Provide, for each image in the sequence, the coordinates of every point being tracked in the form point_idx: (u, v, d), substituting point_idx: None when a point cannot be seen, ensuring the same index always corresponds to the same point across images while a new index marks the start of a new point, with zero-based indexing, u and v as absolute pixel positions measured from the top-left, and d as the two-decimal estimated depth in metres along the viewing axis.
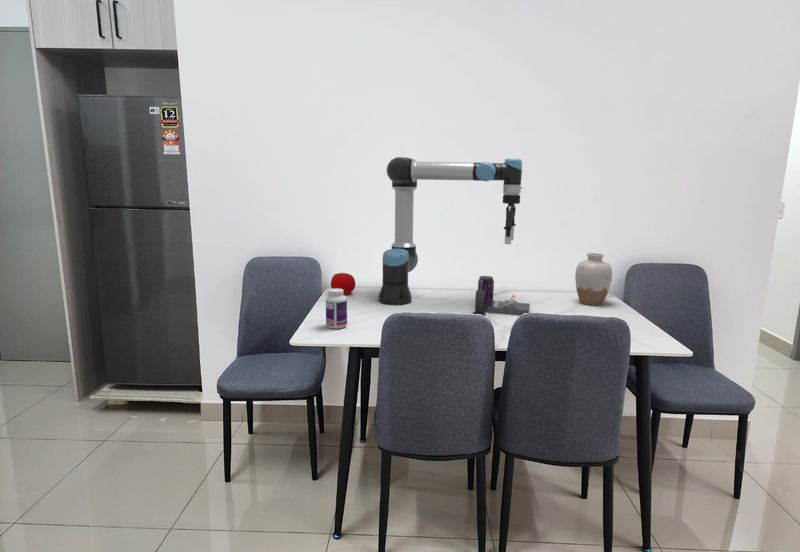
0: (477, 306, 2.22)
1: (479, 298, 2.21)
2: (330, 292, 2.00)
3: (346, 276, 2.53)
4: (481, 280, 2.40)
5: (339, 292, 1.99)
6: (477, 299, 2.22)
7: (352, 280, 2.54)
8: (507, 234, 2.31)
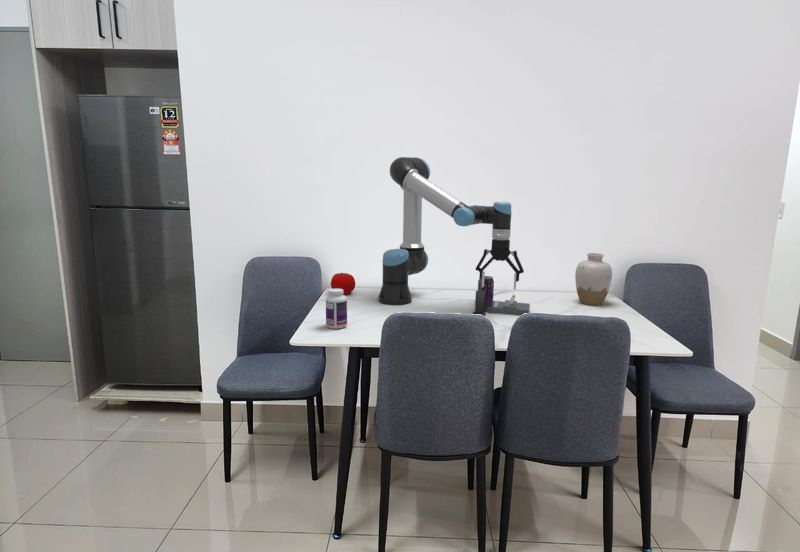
0: (477, 306, 2.22)
1: (479, 298, 2.21)
2: (330, 292, 2.00)
3: (346, 276, 2.53)
4: (481, 280, 2.40)
5: (339, 292, 1.99)
6: (477, 299, 2.22)
7: (352, 280, 2.54)
8: None
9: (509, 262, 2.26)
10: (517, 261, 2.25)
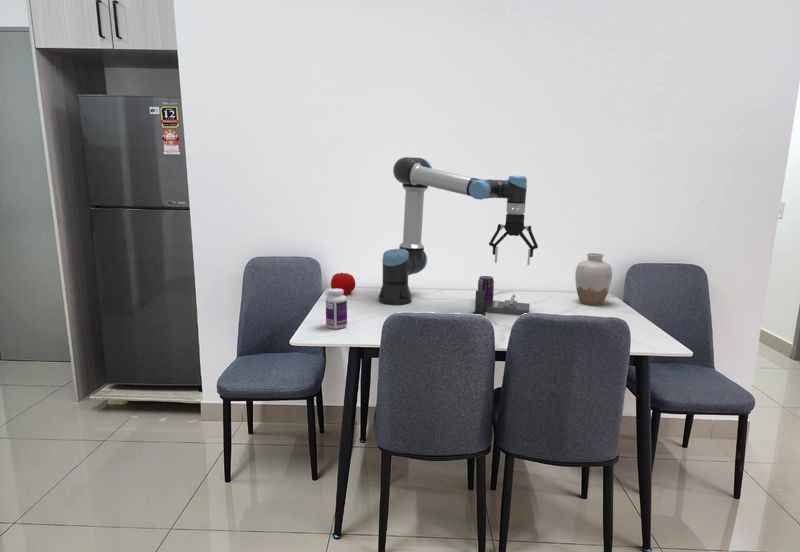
0: (477, 306, 2.22)
1: (479, 298, 2.21)
2: (330, 292, 2.00)
3: (346, 276, 2.53)
4: (481, 280, 2.40)
5: (339, 292, 1.99)
6: (477, 299, 2.22)
7: (352, 280, 2.54)
8: None
9: (523, 237, 2.22)
10: (531, 236, 2.21)
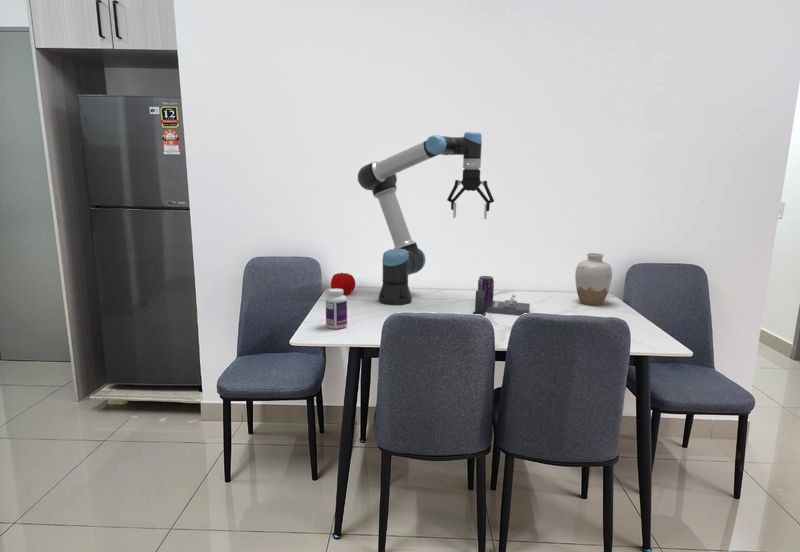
0: (477, 306, 2.22)
1: (479, 298, 2.21)
2: (330, 292, 2.00)
3: (346, 276, 2.53)
4: (481, 280, 2.40)
5: (339, 292, 1.99)
6: (477, 299, 2.22)
7: (352, 280, 2.54)
8: None
9: (479, 192, 2.30)
10: (487, 190, 2.30)
